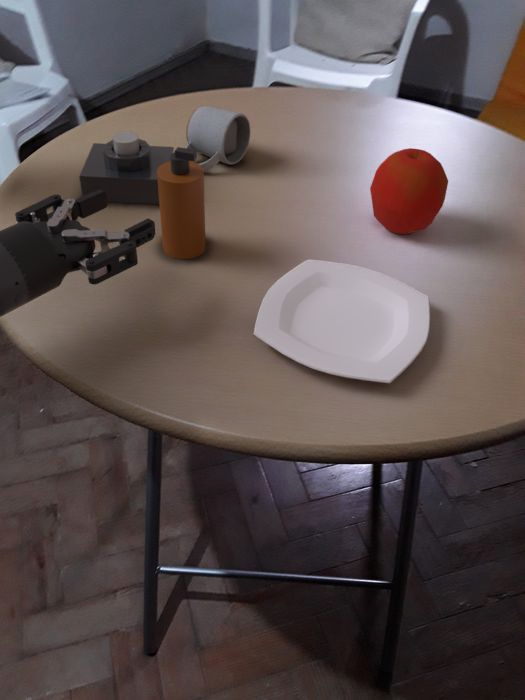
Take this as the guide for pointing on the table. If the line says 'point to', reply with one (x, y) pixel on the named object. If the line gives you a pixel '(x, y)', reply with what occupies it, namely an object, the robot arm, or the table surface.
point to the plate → (345, 320)
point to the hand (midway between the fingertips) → (128, 211)
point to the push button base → (124, 173)
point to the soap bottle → (182, 205)
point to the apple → (408, 191)
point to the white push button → (126, 143)
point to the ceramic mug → (218, 135)
